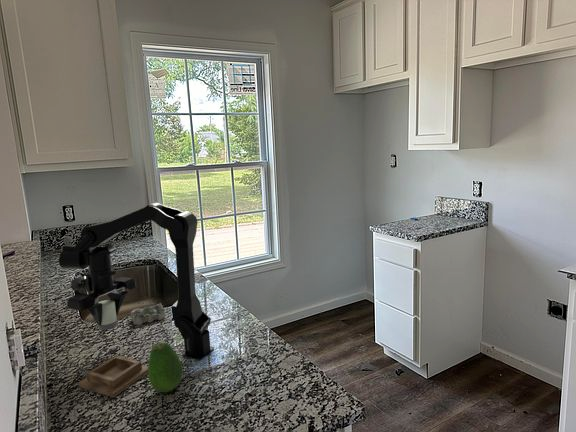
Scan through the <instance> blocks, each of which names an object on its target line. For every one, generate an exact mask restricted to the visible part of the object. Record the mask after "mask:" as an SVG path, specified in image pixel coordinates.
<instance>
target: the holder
mask: <svg viewBox="0 0 576 432" xmlns="http://www.w3.org/2000/svg"><path fill="white" fill-rule="evenodd" d="M148 366H149V365H145V364H142V361H139V360H135V359H132V358H128V357H124V356H120V355H114V356H113V357H110V358H109V359H107V360H105V361H104V362H102V363H101V364H99V365H98V366H96V367H94V368H93V369H90V370H89V371H88V372H86V377H85V378H83V379H81V380H80V381H79V382H77V386H78V387H80V388H83V389H86V390H89V391H91V392H95V393H98V394H101V395H104V396H107V397H110V398H116V396H118V395H120V394H121V393H122V392H123V391H125V390H126V389H127V388H129V387H130V386H132V385H133V384H134V383H137V382H138V381H139V380H140V379H142V378H143V377H144V376H146V375H147V374H148Z"/></svg>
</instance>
